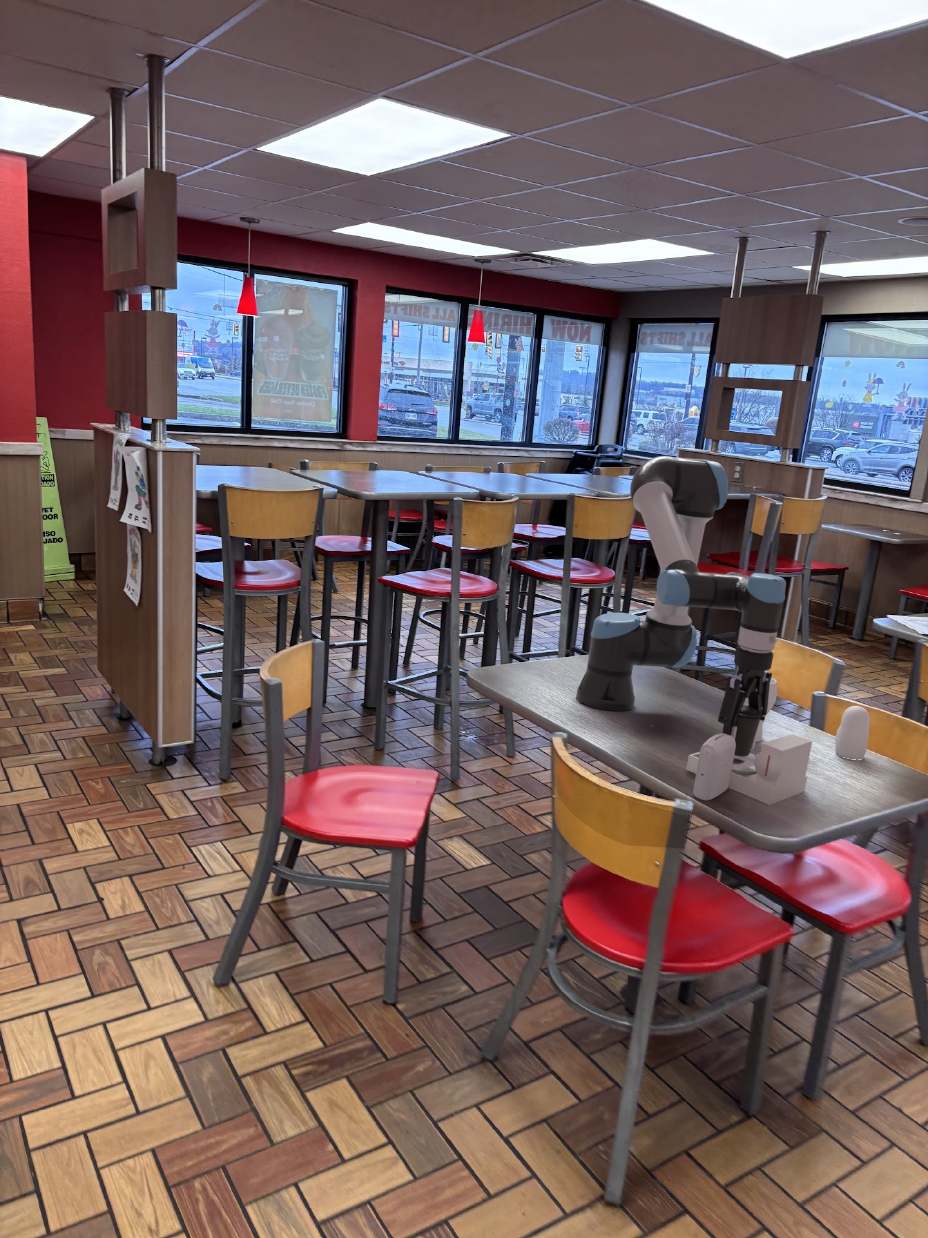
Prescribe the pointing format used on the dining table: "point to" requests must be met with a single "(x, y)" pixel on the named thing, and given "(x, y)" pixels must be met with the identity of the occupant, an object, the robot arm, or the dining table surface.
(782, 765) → the base
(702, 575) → the robot arm
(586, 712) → the dining table surface
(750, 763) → the pan
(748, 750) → the coffee cup
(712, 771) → the photo printer
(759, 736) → the cup
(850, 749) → the figurine
